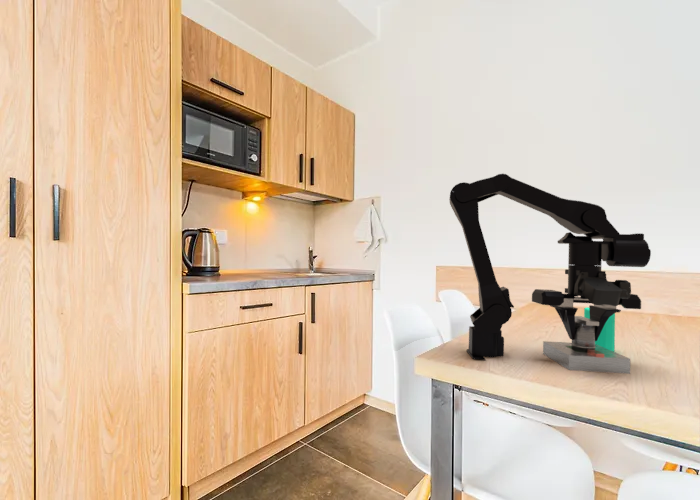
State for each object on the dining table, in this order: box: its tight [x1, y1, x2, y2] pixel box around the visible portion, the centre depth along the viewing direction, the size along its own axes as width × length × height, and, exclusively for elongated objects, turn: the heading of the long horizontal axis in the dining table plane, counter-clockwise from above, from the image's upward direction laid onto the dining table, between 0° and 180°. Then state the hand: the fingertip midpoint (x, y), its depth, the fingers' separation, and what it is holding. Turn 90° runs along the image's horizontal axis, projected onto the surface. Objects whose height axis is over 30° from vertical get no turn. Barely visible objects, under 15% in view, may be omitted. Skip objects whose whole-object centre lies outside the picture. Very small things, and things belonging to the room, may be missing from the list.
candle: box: [583, 306, 616, 353], centre depth 82 cm, size 6×6×12 cm
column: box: [570, 315, 599, 352], centre depth 71 cm, size 4×6×8 cm, turn 173°
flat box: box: [542, 340, 631, 375], centre depth 71 cm, size 16×16×4 cm
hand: (583, 340), depth 71 cm, fingers closed on column, 4 cm apart
